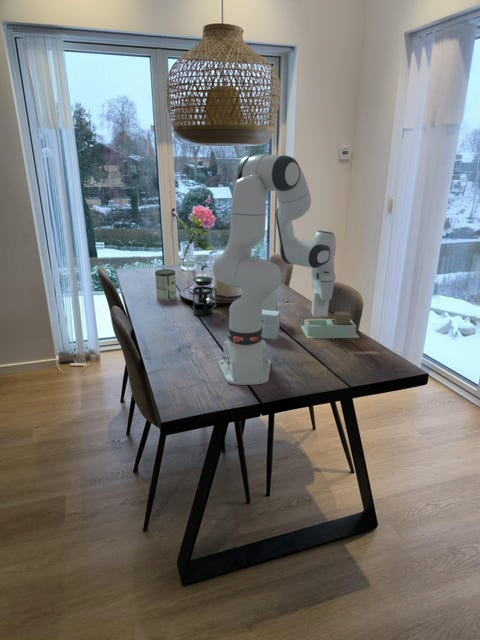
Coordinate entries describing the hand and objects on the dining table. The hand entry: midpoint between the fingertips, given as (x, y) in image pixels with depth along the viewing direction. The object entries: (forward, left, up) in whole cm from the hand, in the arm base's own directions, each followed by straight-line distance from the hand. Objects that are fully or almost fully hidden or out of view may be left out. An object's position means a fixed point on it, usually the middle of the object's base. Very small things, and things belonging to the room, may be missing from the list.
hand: (320, 304), depth 180 cm
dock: (0, -5, -13) cm, 14 cm away
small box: (-2, +21, -13) cm, 25 cm away
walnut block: (0, -10, -12) cm, 16 cm away
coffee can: (+52, +68, -13) cm, 87 cm away
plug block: (0, 0, -5) cm, 5 cm away
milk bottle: (+16, +19, -13) cm, 28 cm away
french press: (+27, +48, -13) cm, 57 cm away
